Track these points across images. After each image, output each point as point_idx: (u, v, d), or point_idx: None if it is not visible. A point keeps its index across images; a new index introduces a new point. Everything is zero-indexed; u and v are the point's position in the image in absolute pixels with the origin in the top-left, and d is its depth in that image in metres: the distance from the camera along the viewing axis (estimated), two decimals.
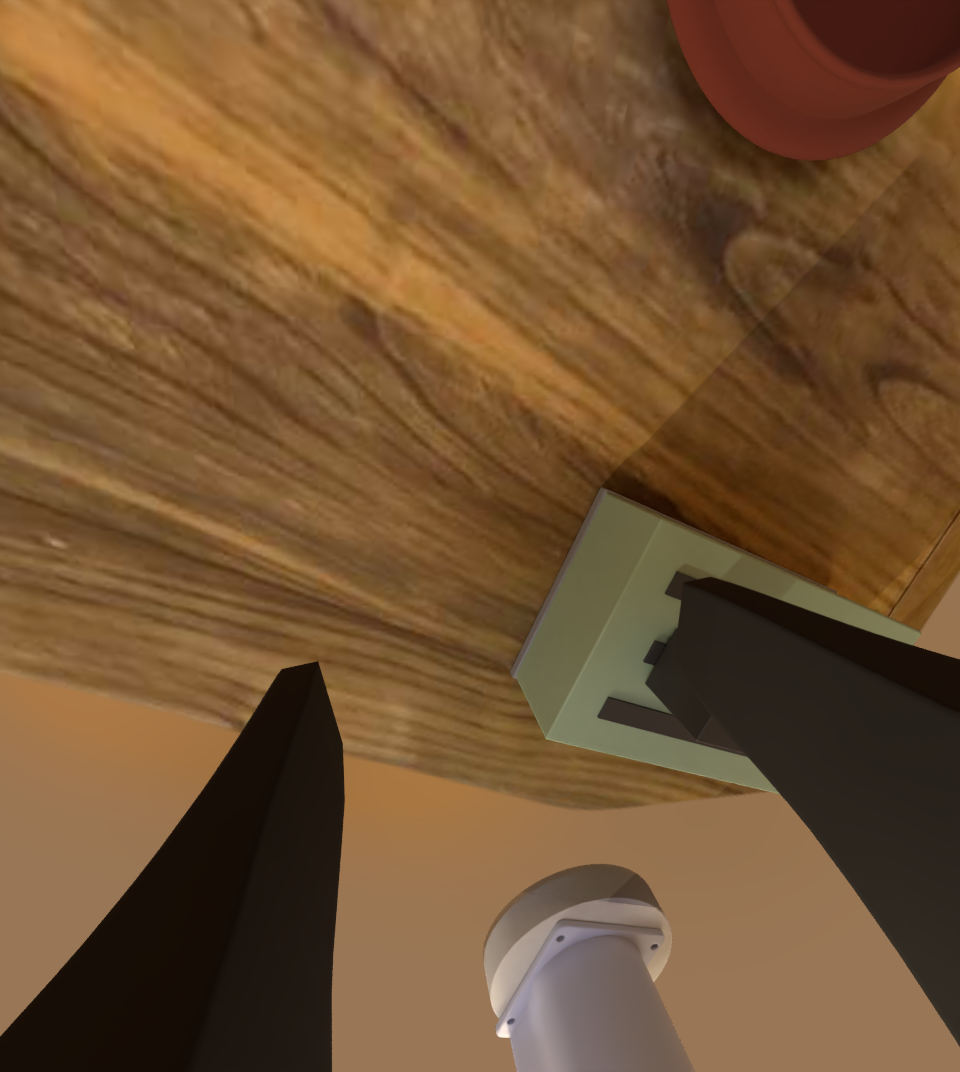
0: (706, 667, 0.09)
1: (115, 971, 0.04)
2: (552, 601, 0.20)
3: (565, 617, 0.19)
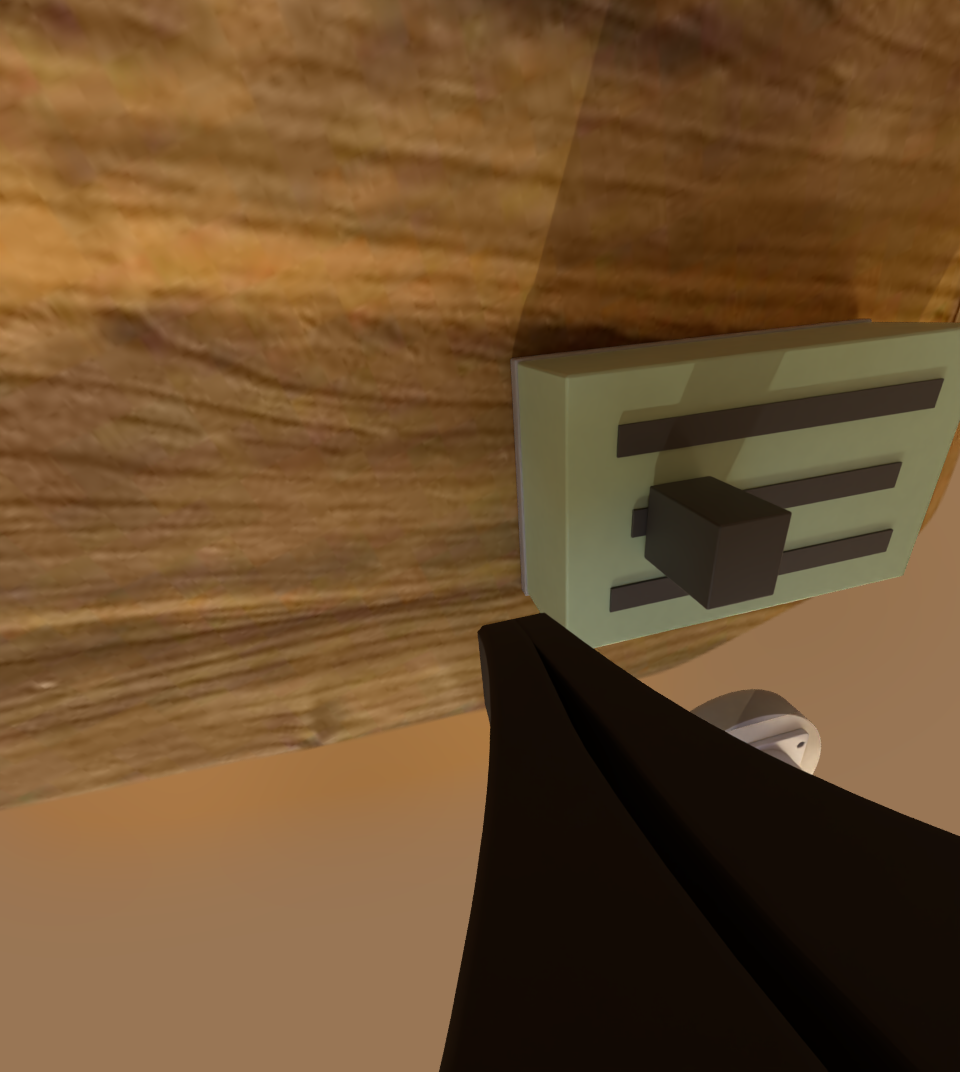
0: None
1: (545, 838, 0.04)
2: (523, 507, 0.18)
3: (537, 522, 0.16)
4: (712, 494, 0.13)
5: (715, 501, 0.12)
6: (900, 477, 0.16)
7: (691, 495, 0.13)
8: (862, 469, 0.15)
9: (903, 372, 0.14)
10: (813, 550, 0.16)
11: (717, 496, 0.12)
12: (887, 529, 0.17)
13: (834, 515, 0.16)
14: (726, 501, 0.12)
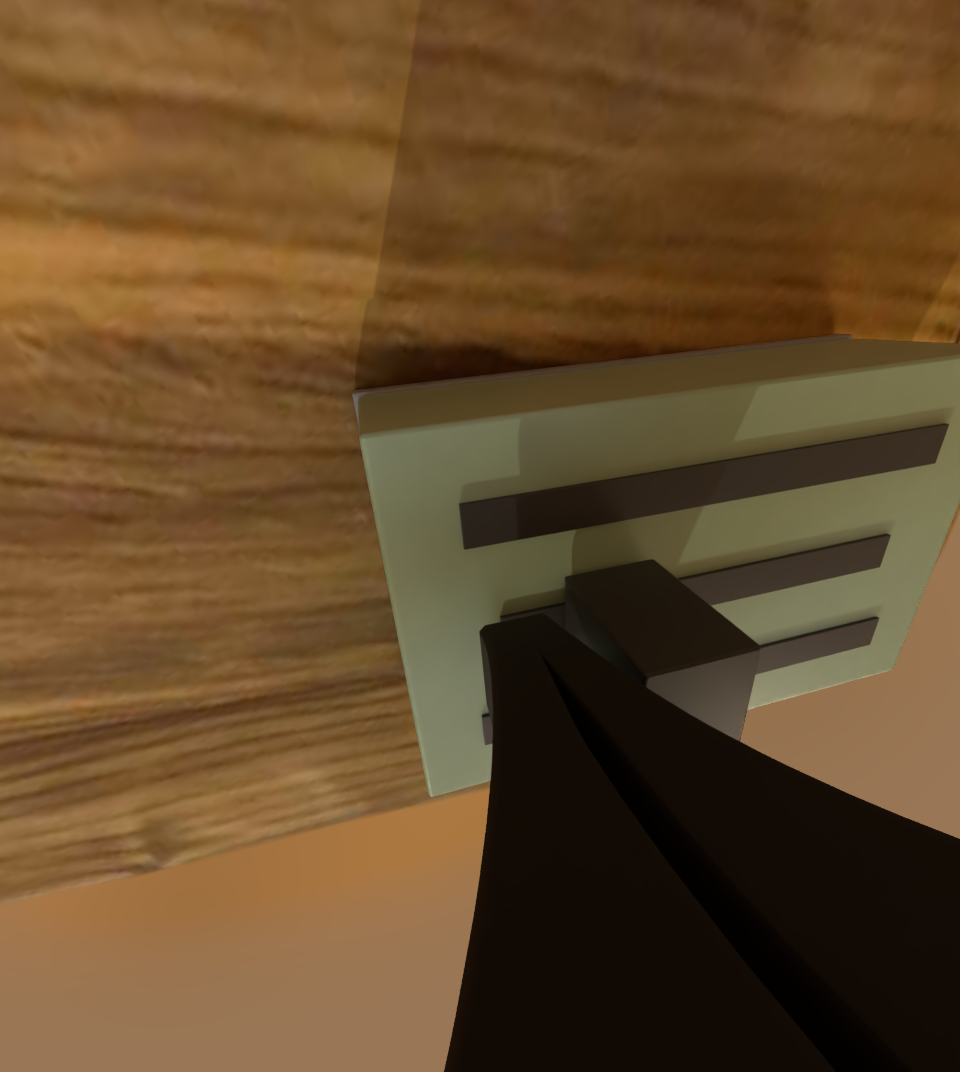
0: None
1: (548, 838, 0.04)
2: None
3: None
4: (647, 599, 0.08)
5: (649, 615, 0.08)
6: (888, 553, 0.12)
7: (617, 599, 0.09)
8: (835, 547, 0.11)
9: (891, 417, 0.10)
10: (771, 648, 0.12)
11: (654, 604, 0.08)
12: (871, 617, 0.13)
13: (798, 604, 0.12)
14: (666, 616, 0.08)
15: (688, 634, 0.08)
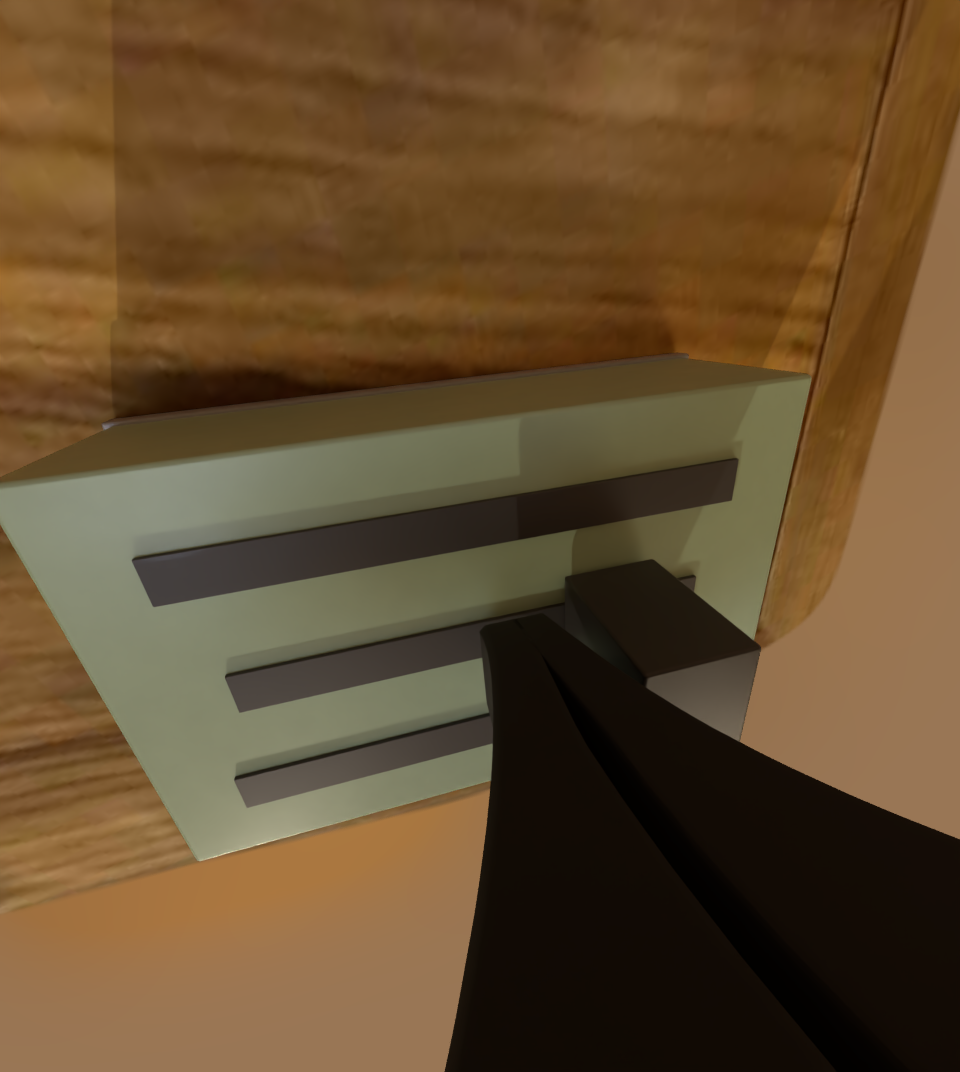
0: None
1: (548, 837, 0.04)
2: None
3: None
4: (647, 599, 0.08)
5: (648, 615, 0.08)
6: (699, 595, 0.11)
7: (617, 599, 0.09)
8: None
9: (667, 452, 0.09)
10: None
11: (654, 604, 0.08)
12: None
13: None
14: (665, 616, 0.08)
15: (688, 634, 0.08)
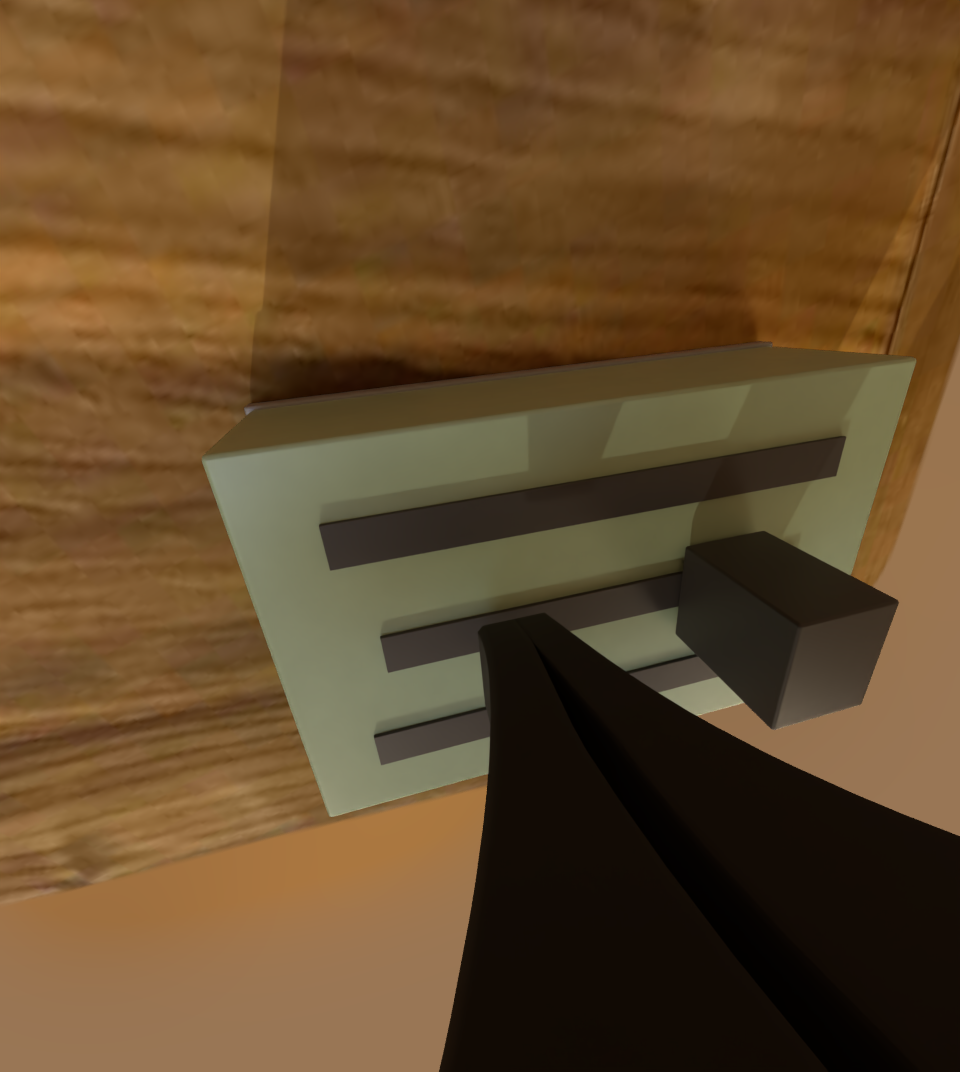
0: None
1: (546, 838, 0.04)
2: None
3: None
4: (775, 564, 0.09)
5: (782, 577, 0.09)
6: None
7: (746, 564, 0.09)
8: None
9: (784, 430, 0.10)
10: (682, 663, 0.12)
11: (782, 568, 0.09)
12: None
13: None
14: (798, 577, 0.09)
15: (826, 592, 0.08)
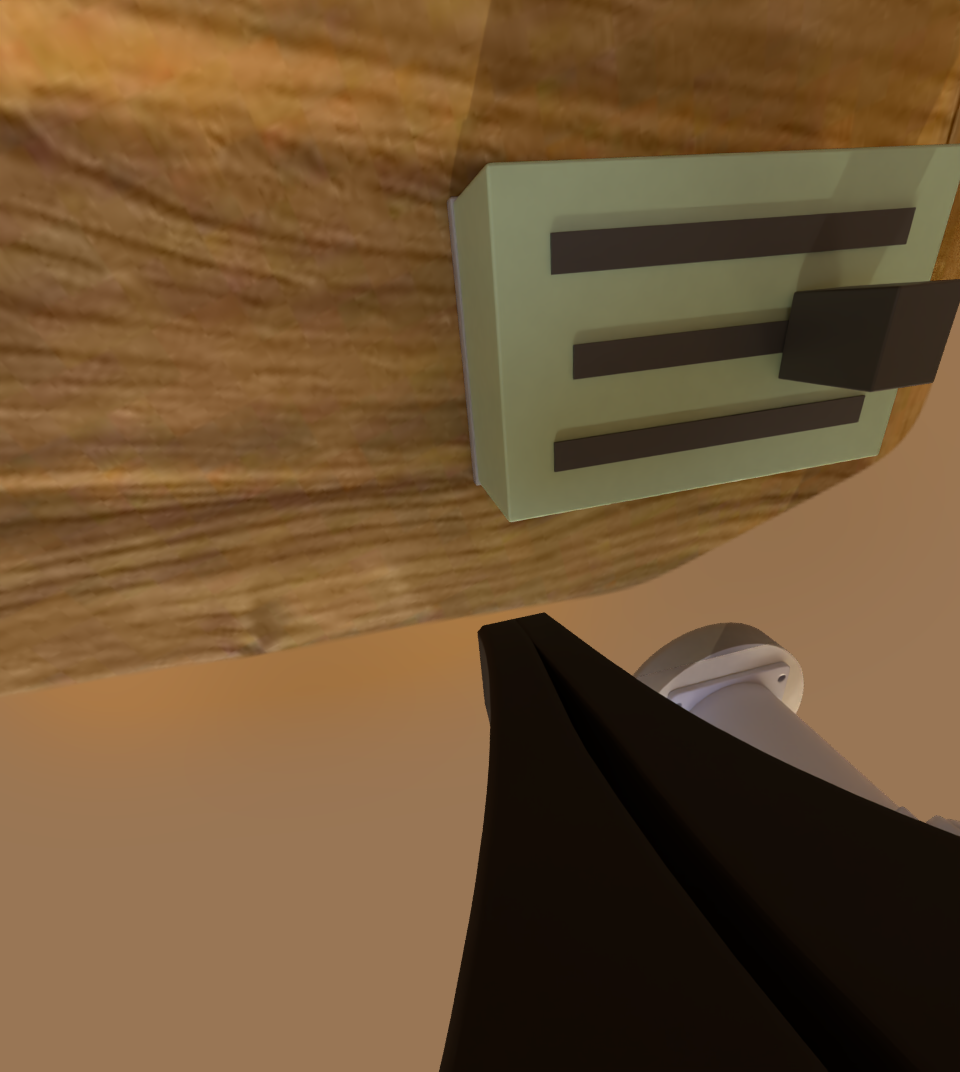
0: None
1: (545, 838, 0.04)
2: (469, 379, 0.16)
3: (479, 384, 0.15)
4: (868, 286, 0.12)
5: (876, 285, 0.12)
6: None
7: (846, 288, 0.13)
8: None
9: (871, 196, 0.13)
10: (778, 414, 0.15)
11: (875, 285, 0.12)
12: (859, 395, 0.16)
13: None
14: (889, 284, 0.12)
15: (912, 283, 0.12)
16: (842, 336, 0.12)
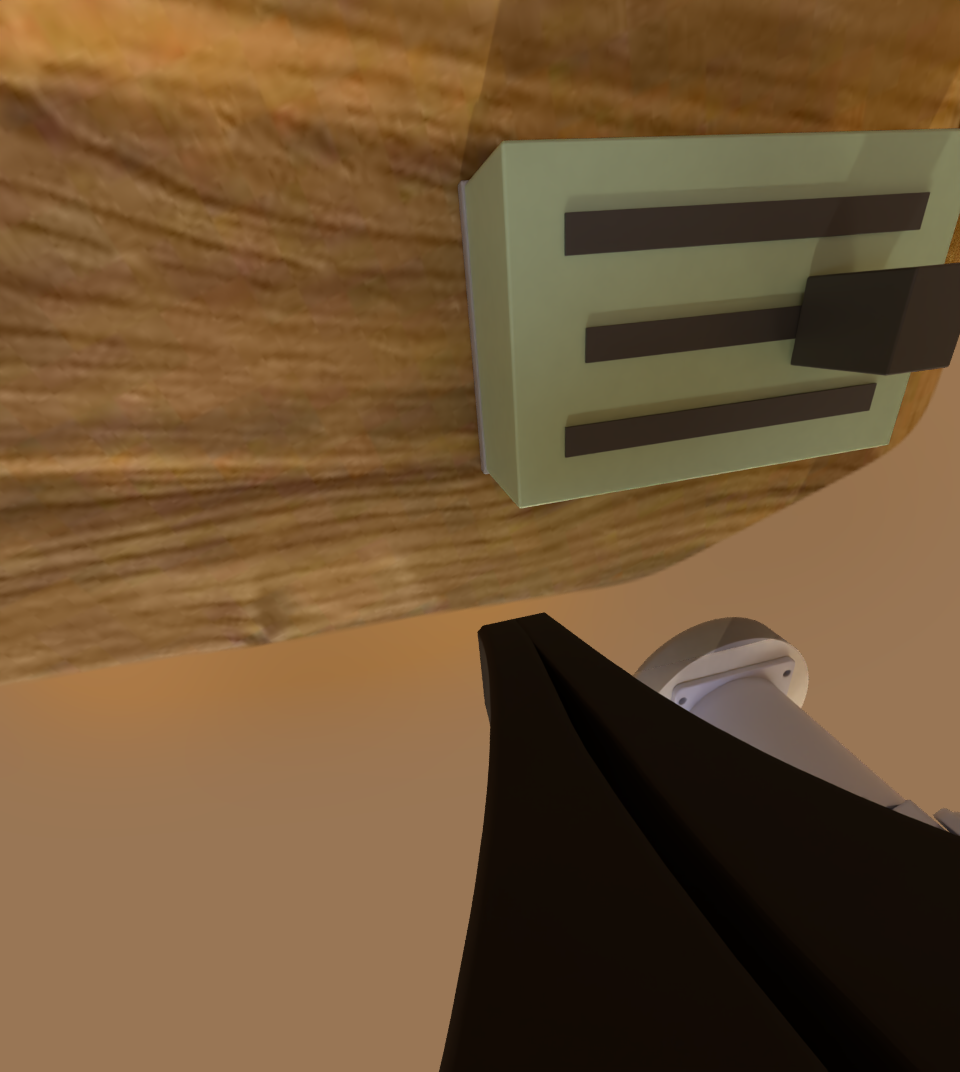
0: None
1: (545, 838, 0.04)
2: (478, 366, 0.16)
3: (489, 369, 0.15)
4: None
5: None
6: None
7: (861, 271, 0.12)
8: None
9: (885, 180, 0.13)
10: (790, 402, 0.15)
11: None
12: (870, 383, 0.16)
13: None
14: None
15: None
16: (857, 319, 0.12)
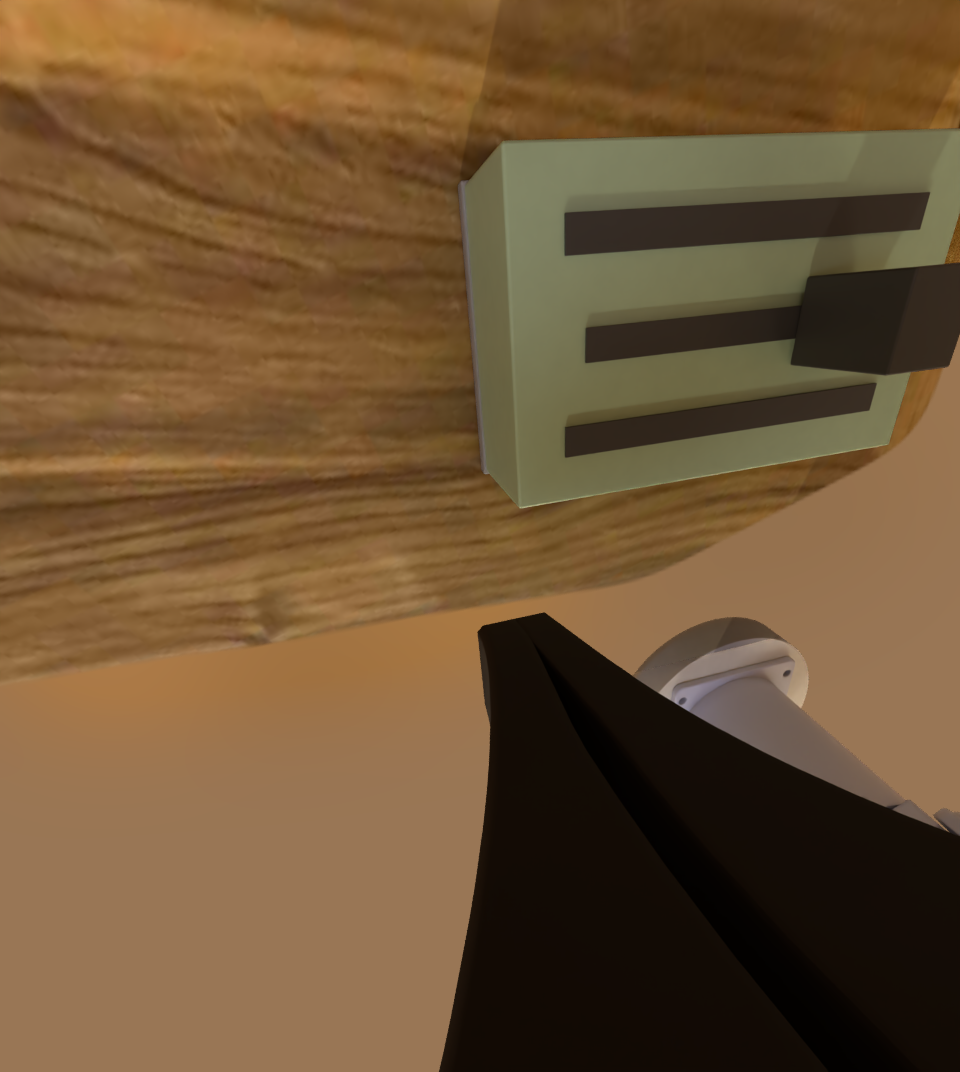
0: None
1: (545, 838, 0.04)
2: (478, 366, 0.16)
3: (489, 369, 0.15)
4: None
5: None
6: None
7: (861, 271, 0.12)
8: None
9: (885, 180, 0.13)
10: (790, 402, 0.15)
11: None
12: (870, 383, 0.16)
13: None
14: None
15: None
16: (857, 319, 0.12)
